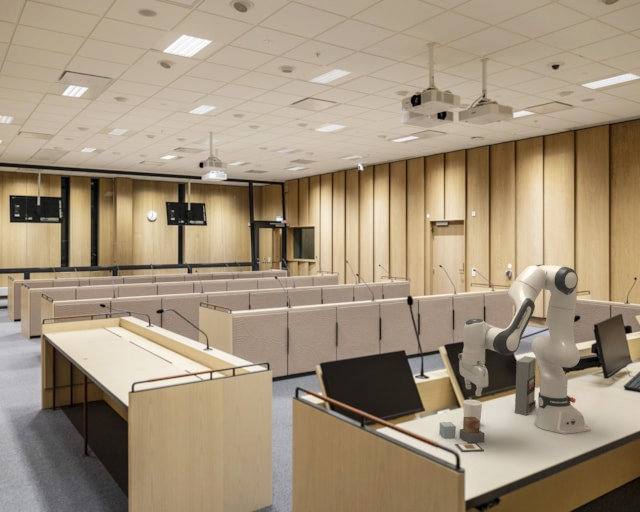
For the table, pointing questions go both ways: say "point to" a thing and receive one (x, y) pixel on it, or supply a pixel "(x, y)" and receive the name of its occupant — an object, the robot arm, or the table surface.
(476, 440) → the charcoal base block
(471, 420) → the walnut block
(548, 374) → the robot arm
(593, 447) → the table surface
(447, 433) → the slate-blue block
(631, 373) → the table surface
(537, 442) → the table surface
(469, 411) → the white cup
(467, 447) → the card
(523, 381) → the grey box
